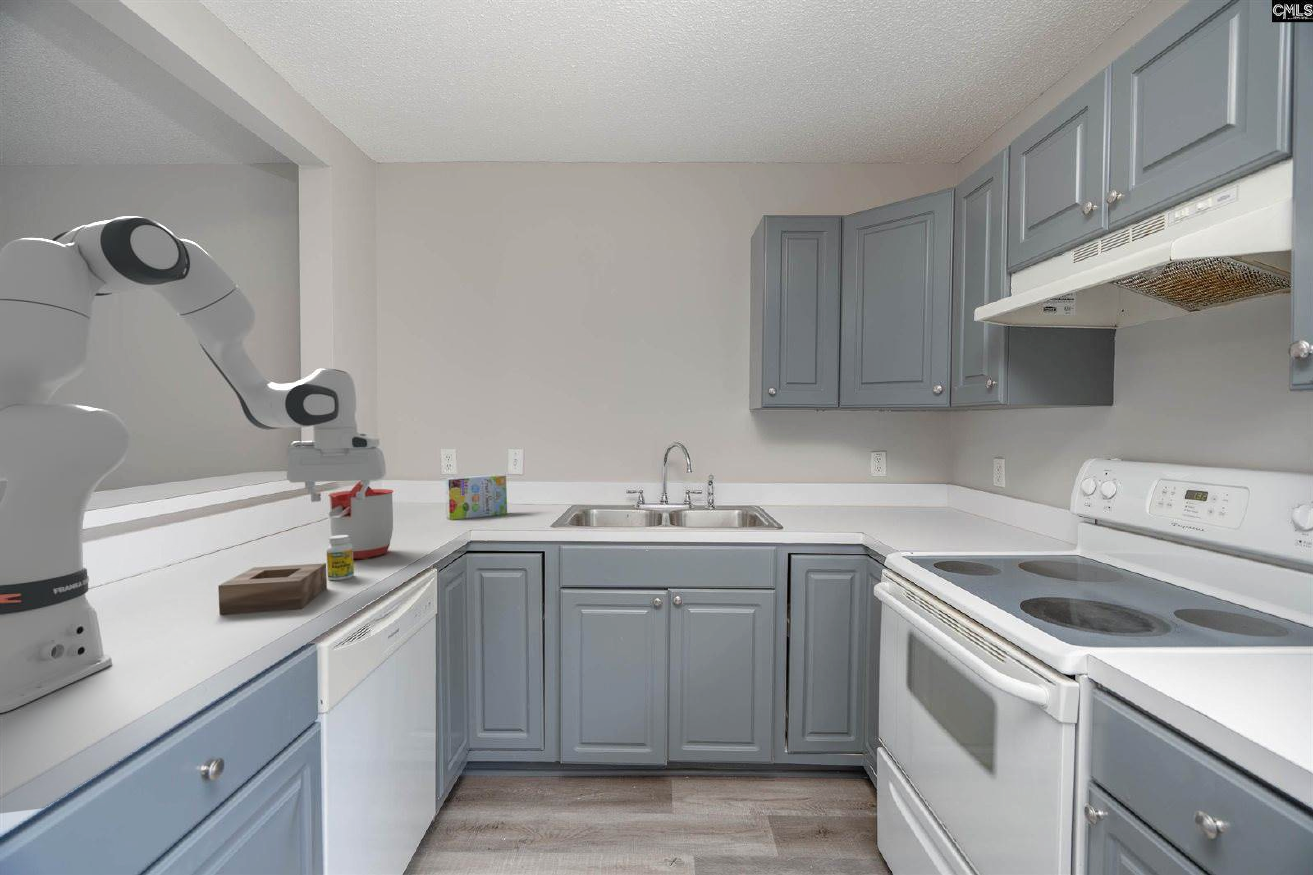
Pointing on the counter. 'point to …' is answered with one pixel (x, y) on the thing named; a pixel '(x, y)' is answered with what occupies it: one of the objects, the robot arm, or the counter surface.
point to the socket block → (272, 588)
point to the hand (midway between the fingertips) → (338, 500)
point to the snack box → (476, 496)
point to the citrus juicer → (363, 520)
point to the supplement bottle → (340, 558)
